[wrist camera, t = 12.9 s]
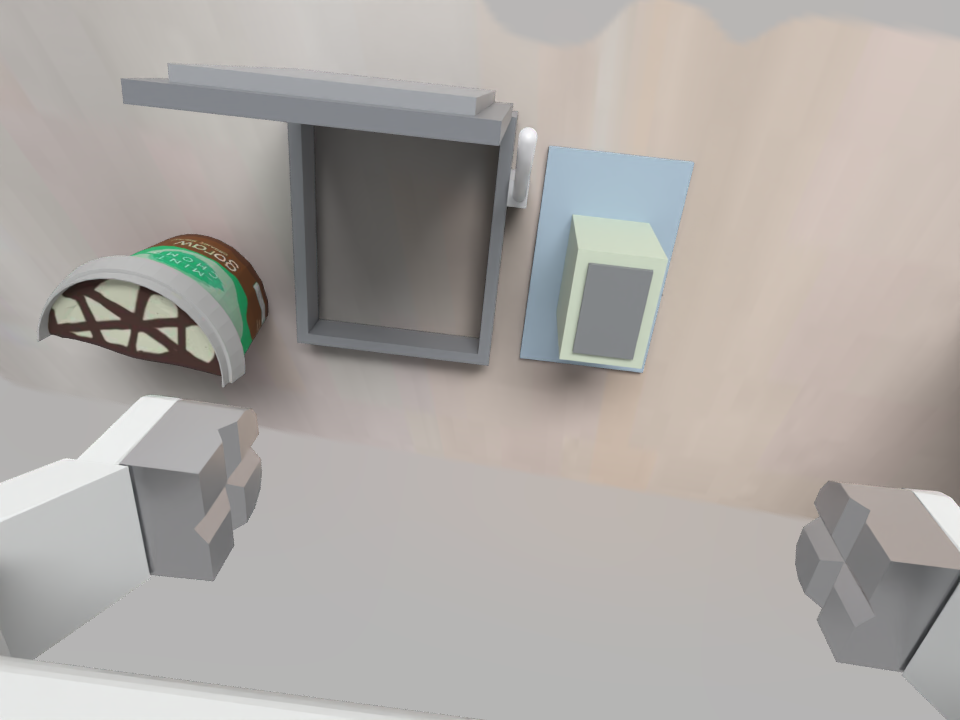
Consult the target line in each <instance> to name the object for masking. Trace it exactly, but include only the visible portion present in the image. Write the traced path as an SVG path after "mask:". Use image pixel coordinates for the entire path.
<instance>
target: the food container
mask: <svg viewBox="0 0 960 720" xmlns="http://www.w3.org/2000/svg"><path fill="white" fill-rule="evenodd" d="M267 316H268V300H267V297H266V294H265V290H264V287H263V284H262V281H261V279H260V278H259V276H258V275H257V273H256V271H255V270H254V268H253V267H252V265H251V264H250V262H248V261H247V260H246V259H245V258H244V257H243V256H242V255H241V254H240V253H239V252H237V251H236V250H235V249H234V248H233V247H231V246H229V245H227V244H225V243H223V242H222V241H220V240H218V239H215V238H212V237H209V236H204V235H198V234H186V235H179V236H175V237H173V238H170V239H167V240H165V241H163V242H160V243H158V244H156V245H154V246H151V247H149V248H147V249H144V250H142V251H140V252H138V253H135V254H133V255H131V256H109V257H101V258H98V259H95V260H92V261H89V262H86V263H85V264H83V265H81V266H79V267H78V268H76V269H75V270H73V271H72V272H71V273H70V274H69V275H68V276H67V277H66V278H65V279H64V280H63V281H62V282H61V283H60V284H59V285H58V286H57V288H56V289H55V290H54V291H53V293H52V294H51V295H50V297H49V298H48V300H47V302H46V304H45V306H44V309H43V311H42V314H41V316H40V319H39V324H38V329H37V341H38V342H39V341H41V340H43V339H45V338H46V337H48V336H50V335H52V334H53V335H56V336H60V337H62V338H70V339H75V340H79V341H83V342H87V343H91V344H95V345H98V346H101V347H104V348H107V349H109V350H112V351H115V352H118V353H120V354H124V355H127V356H130V357H133V358H137V359H142V360H148V361H154V362H160V363H167V364H172V365H178V366H183V367H187V368H191V369H195V370H199V371H203V372H207V373H211V374H215V375H219V376H222V387H224V386H225V385H226V384H227V383H228V382H230V383H233V382H234V381H236V380H237V379H238V378H240V377H241V376H242V375H244V374H245V357H244V355H245V353H246V351H247V349H248V348H249V346H250V344H251V343H252V341H253V339H254V338H255V336H256V334H257V333H258V331H259V329H260V328H261V326H262V324H263V322H264V321H265V319H266V317H267Z"/></svg>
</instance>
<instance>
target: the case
mask: <svg viewBox="0 0 960 720" xmlns="http://www.w3.org/2000/svg"><path fill="white" fill-rule="evenodd" d="M517 116H518V111H512V117H511V121H510V123H509V125H508V127H507V129H506V132H505V134H504V136H503V138H502V140H501V143H500V151H499V161H498V170H497V180H496V189H495V199H494V208H493V218H492V227H491V237H490V246H489V255H488V265H487V274H486V284H485V293H484V303H483V312H482V322H481V331H480V338H473V337H465V336H456V335H448V334H440V333H431V332H423V331H415V330H406V329H398V328H390V327H381V326H373V325H364V324H356V323H348V322H339V321H331V320H323V319H319V310H318V272H317V234H316V196H315V158H314V125H309V124H300V123H291V122H288V141H289V164H290V186H291V209H292V231H293V254H294V276H295V299H296V321H297V343H305V344H313V345H321V346H329V347H338V348H346V349H354V350H363V351H371V352H379V353H387V354H396V355H404V356H412V357H421V358H429V359H437V360H445V361H454V362H462V363H470V364H478V365H487V366H488V364H489V357H490V350H491V341H492V333H493V324H494V315H495V307H496V298H497V289H498V281H499V272H500V263H501V255H502V246H503V237H504V229H505V220H506V211H507V206H509V207H518V208H526V205H527V198H528V190H529V182H530V173H531V168H532V163H533V158H534V152H535V147H536V142H537V132H536V131H535V130H534V129H533V128H530V127H527V128H524V129H522V130H521V132H520V134H519V141H518V151H517V160H516V170H514V169H511V168H512V160H513V151H514V142H515V134H516V125H517Z"/></svg>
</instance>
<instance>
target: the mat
mask: <svg viewBox="0 0 960 720" xmlns="http://www.w3.org/2000/svg"><path fill="white" fill-rule="evenodd" d="M693 166H694V162H690V161H681V160H672V159H663V158H655V157H646V156H637V155H628V154H619V153H610V152H601V151H592V150H584V149H575V148H566V147H557V146H549V152H548V159H547V166H546V174H545V181H544V188H543V195H542V202H541V209H540V216H539V223H538V230H537V238H536V245H535V252H534V259H533V266H532V273H531V280H530V287H529V294H528V302H527V309H526V316H525V323H524V330H523V337H522V344H521V351H520V358H525V359H533V360H541V361H550V362H558V363H566V364H575V365H583V366H591V367H600V368H608V369H616V370H625V371H633V372H641V373H643V369H644V365H645V361H646V357H647V353H648V349H649V345H650V341H651V337H652V333H653V329H654V325H655V321H656V316H657V312H658V308H659V304H660V300H661V296H662V292H663V288H664V284H665V280H666V276H667V272H668V268H669V264H670V260H671V256H672V252H673V247H674V243H675V239H676V235H677V231H678V227H679V223H680V219H681V215H682V211H683V207H684V203H685V199H686V195H687V191H688V187H689V183H690V179H691V174H692V170H693ZM572 214H574V215H583V216H592V217H600V218H609V219H618V220H626V221H635V222H644V223H649V224H650V226H651V227H652V229H653V231H654V233H655V235H656V237H657V239H658V241H659V243H660V245H661V247H662V249H663V251H664V252H665V254H666V256H667V258H668V262H667V266H666V270H665V274H664V279H663V283H662V287H661V291H660V295H659V299H658V303H657V307H656V311H655V315H654V319H653V324H652V328H651V332H650V336H649V340H648V344H647V348H646V352H645V356H644V360H643V364H642V368H641V369H638V368H630V367H621V366H613V365H605V364H597V363H588V362H580V361H572V360H563V359H559V346H558V330H557V314H556V311H557V305H558V299H559V293H560V287H561V281H562V275H563V269H564V263H565V257H566V251H567V245H568V239H569V233H570V227H571V221H572Z"/></svg>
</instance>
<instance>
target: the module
mask: <svg viewBox="0 0 960 720" xmlns="http://www.w3.org/2000/svg"><path fill="white" fill-rule="evenodd" d="M667 262H668V258H667V256H666V254H665V252H664V251H663V249H662V247H661V245H660V243H659V241H658V239H657V237H656V235H655V233H654V231H653V229H652V227H651V226H650V224H649V223H644V222H635V221H626V220H618V219H609V218H600V217H592V216H583V215H574V214H572V221H571V227H570V233H569V239H568V245H567V251H566V257H565V263H564V269H563V275H562V281H561V287H560V293H559V299H558V305H557V311H556V314H557V330H558V346H559V359H563V360H572V361H580V362H588V363H597V364H605V365H613V366H621V367H630V368H638V369H641V368H642V364H643V360H644V356H645V352H646V348H647V344H648V340H649V336H650V332H651V328H652V324H653V319H654V315H655V311H656V307H657V303H658V299H659V295H660V291H661V287H662V283H663V279H664V274H665V270H666V266H667Z"/></svg>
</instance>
